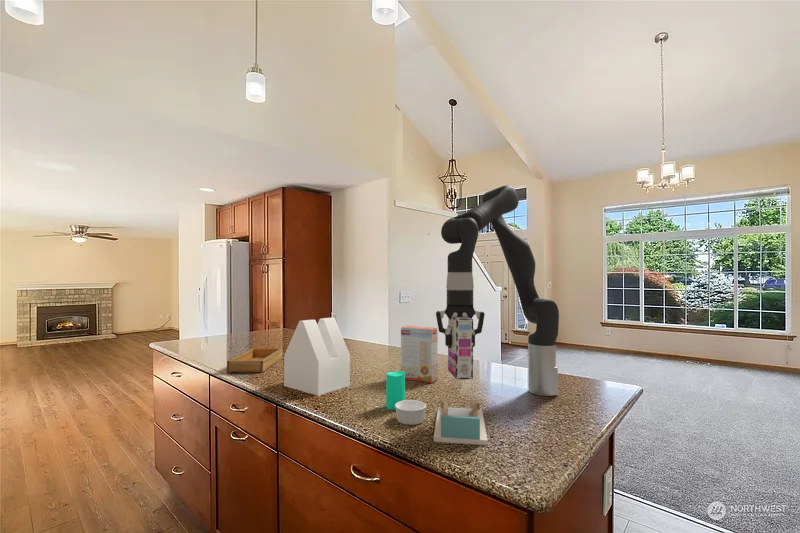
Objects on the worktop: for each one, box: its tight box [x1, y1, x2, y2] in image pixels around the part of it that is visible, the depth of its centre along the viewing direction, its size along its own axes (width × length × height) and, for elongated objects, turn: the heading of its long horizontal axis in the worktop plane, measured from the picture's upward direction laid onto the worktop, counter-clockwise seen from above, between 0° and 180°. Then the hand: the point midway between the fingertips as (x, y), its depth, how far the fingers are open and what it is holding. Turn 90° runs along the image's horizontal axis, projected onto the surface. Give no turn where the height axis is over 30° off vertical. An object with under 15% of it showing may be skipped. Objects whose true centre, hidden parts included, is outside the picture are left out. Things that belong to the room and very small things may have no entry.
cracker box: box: [400, 325, 439, 384], centre depth 151 cm, size 14×6×21 cm, turn 59°
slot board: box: [433, 399, 488, 446], centre depth 103 cm, size 13×22×6 cm, turn 171°
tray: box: [226, 347, 284, 374], centre depth 175 cm, size 31×15×6 cm, turn 2°
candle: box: [385, 368, 406, 411], centre depth 119 cm, size 6×6×12 cm
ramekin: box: [395, 399, 427, 426], centre depth 108 cm, size 9×9×4 cm
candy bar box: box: [447, 317, 474, 380], centre depth 107 cm, size 11×5×16 cm, turn 5°
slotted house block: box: [283, 317, 351, 396], centre depth 142 cm, size 19×15×25 cm
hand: (460, 347), depth 107 cm, fingers closed on candy bar box, 5 cm apart
